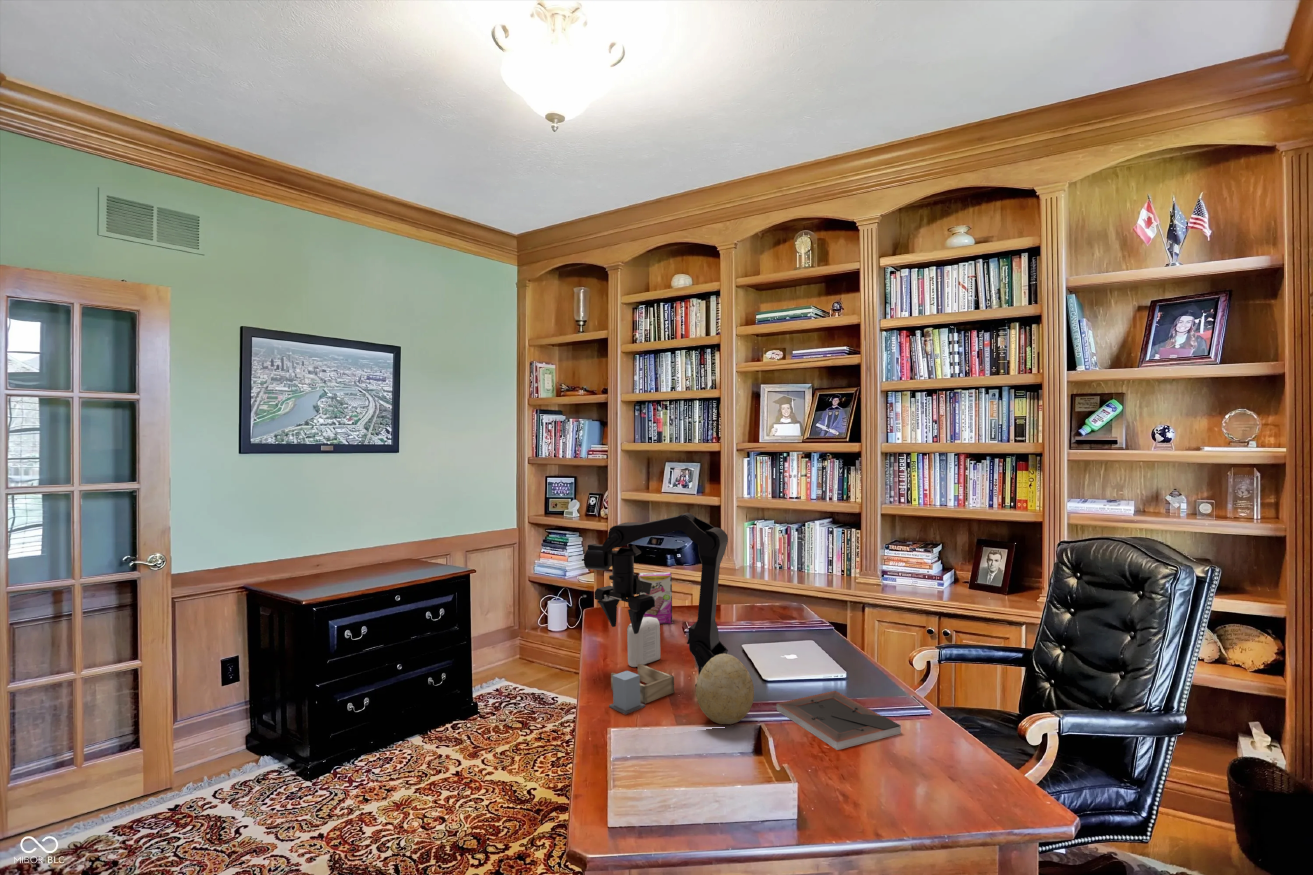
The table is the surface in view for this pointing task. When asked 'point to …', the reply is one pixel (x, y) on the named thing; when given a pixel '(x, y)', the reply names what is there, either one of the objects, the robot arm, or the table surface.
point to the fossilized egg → (725, 689)
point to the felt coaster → (627, 710)
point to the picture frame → (838, 719)
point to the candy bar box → (659, 595)
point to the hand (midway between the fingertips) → (624, 630)
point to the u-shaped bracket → (652, 683)
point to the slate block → (626, 690)
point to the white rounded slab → (644, 642)
